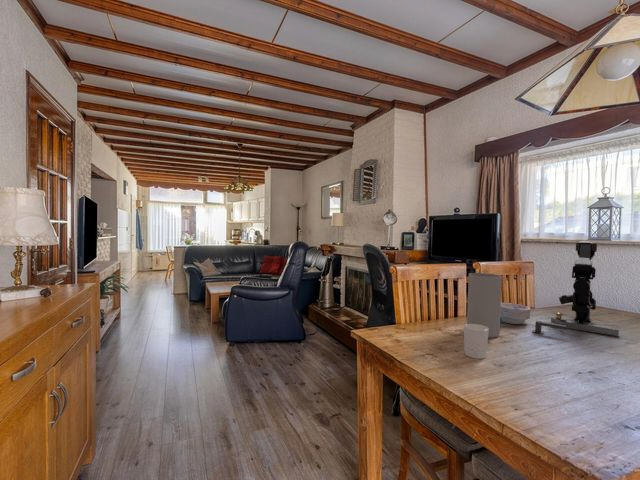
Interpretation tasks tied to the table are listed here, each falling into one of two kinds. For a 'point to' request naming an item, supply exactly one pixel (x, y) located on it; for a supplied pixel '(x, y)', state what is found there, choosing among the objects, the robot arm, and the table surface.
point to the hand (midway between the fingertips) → (580, 324)
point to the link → (586, 326)
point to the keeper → (540, 324)
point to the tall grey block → (485, 301)
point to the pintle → (558, 315)
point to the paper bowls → (514, 313)
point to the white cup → (475, 340)
